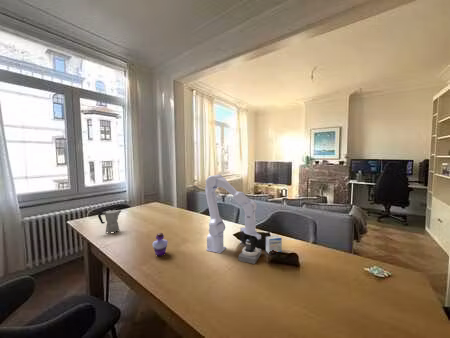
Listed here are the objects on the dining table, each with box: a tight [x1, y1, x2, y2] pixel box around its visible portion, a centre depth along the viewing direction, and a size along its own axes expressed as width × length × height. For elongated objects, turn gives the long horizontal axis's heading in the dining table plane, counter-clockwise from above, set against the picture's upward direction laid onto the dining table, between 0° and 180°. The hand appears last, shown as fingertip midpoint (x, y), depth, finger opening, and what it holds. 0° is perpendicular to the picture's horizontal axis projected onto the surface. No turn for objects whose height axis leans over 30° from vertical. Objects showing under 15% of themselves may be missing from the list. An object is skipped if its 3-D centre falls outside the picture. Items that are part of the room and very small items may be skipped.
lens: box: [245, 238, 254, 252], centre depth 114 cm, size 4×4×7 cm
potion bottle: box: [151, 232, 169, 257], centre depth 118 cm, size 9×9×12 cm
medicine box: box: [265, 235, 283, 254], centre depth 120 cm, size 8×4×9 cm, turn 105°
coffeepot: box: [97, 207, 122, 233], centre depth 154 cm, size 15×9×18 cm, turn 129°
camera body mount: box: [237, 246, 262, 265], centre depth 114 cm, size 9×13×4 cm
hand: (250, 247), depth 114 cm, fingers closed on lens, 4 cm apart
